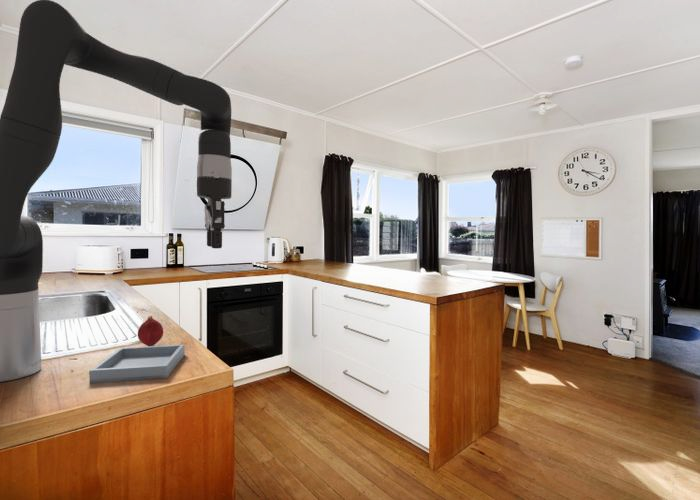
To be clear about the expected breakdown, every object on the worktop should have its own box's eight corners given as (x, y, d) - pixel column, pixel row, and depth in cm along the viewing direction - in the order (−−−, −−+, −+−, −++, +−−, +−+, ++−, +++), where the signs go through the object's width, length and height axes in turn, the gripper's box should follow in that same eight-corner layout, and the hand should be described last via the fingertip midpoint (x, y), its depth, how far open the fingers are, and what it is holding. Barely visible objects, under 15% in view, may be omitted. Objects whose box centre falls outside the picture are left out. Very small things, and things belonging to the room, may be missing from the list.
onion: (167, 346, 93) (166, 315, 93) (143, 352, 89) (142, 319, 88) (158, 341, 97) (157, 312, 97) (134, 346, 93) (133, 316, 92)
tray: (89, 383, 71) (89, 370, 70) (120, 358, 84) (120, 347, 84) (166, 377, 73) (166, 365, 73) (184, 354, 87) (184, 344, 87)
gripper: (194, 179, 88) (194, 246, 89) (200, 171, 76) (199, 248, 76) (226, 182, 92) (226, 246, 92) (237, 174, 79) (236, 249, 80)
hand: (214, 247), depth 84 cm, fingers open, 8 cm apart
